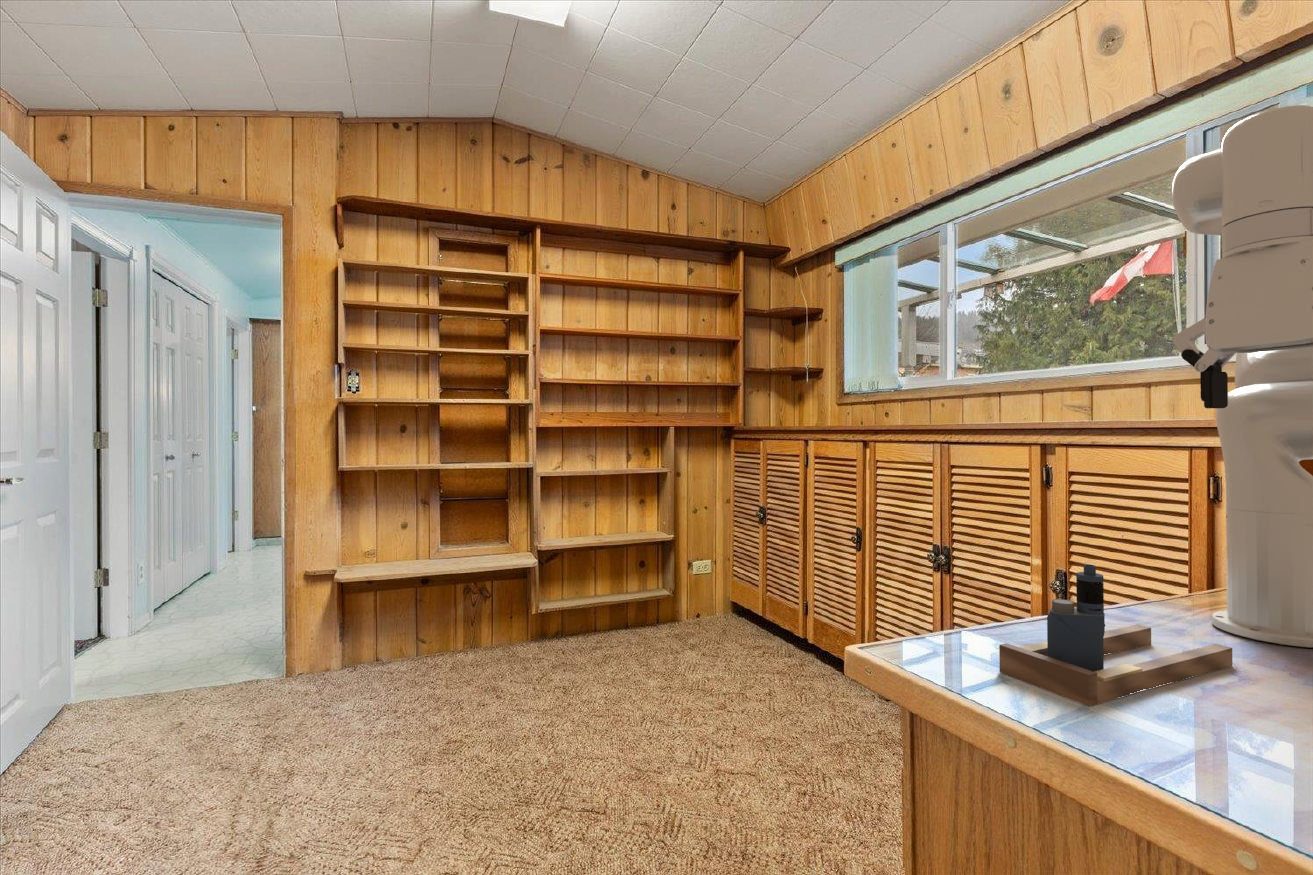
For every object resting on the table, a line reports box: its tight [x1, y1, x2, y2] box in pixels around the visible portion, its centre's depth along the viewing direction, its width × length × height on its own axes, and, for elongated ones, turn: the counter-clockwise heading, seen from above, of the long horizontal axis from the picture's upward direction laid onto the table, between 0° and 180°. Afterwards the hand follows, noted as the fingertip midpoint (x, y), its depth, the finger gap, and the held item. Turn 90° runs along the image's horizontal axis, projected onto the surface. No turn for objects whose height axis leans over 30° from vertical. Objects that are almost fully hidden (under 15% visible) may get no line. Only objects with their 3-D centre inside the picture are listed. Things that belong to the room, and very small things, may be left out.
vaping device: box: [1046, 564, 1106, 672], centre depth 66 cm, size 3×5×12 cm, turn 79°
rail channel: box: [998, 624, 1233, 707], centre depth 69 cm, size 24×10×3 cm, turn 113°
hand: (1272, 406), depth 65 cm, fingers open, 9 cm apart
